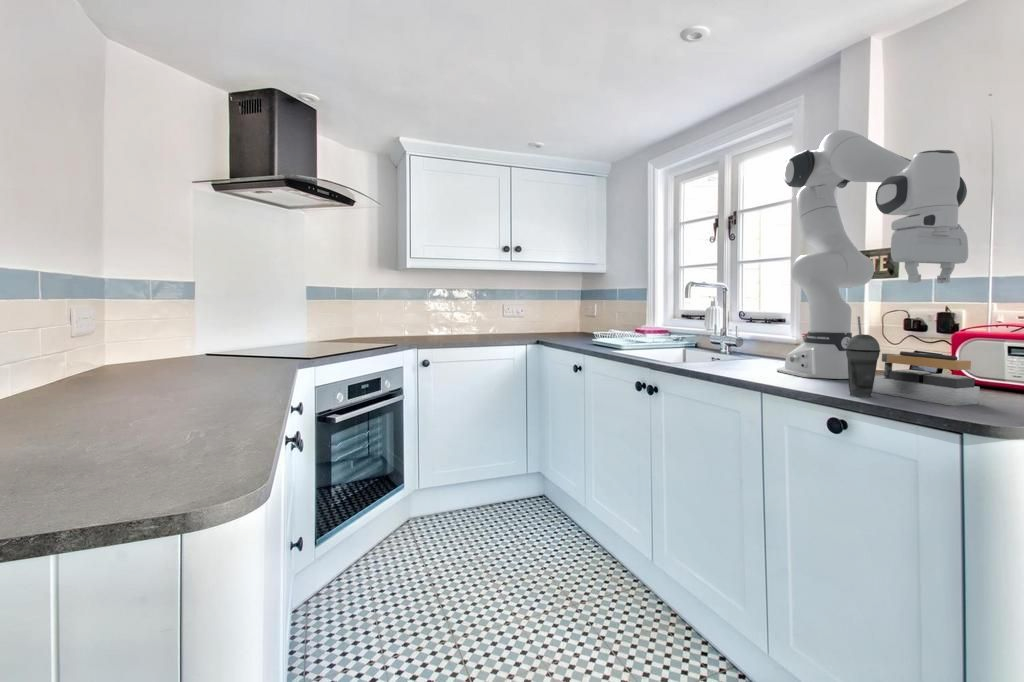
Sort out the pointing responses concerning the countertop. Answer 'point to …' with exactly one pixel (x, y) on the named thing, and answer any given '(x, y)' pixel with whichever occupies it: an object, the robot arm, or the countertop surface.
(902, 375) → the stacked block stand
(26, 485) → the countertop surface
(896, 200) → the robot arm
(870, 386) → the beverage cup
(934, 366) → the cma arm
